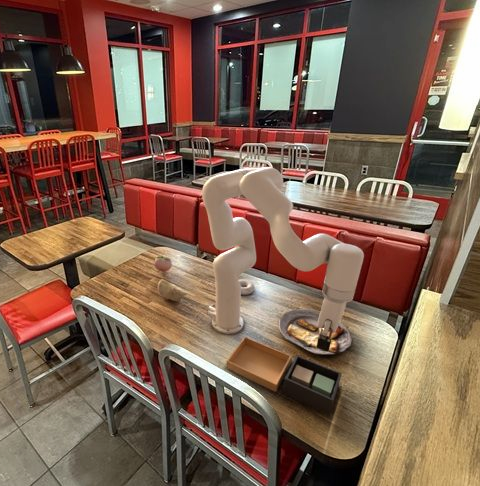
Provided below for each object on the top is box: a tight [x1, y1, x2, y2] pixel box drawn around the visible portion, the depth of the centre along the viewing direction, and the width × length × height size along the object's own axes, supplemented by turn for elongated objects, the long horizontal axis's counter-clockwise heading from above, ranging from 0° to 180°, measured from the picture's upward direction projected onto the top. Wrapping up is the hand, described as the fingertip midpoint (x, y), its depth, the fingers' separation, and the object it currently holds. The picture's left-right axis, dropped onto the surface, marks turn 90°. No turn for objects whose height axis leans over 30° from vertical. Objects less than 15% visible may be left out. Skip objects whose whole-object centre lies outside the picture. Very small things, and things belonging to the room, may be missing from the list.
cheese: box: [157, 278, 188, 302], centre depth 141 cm, size 15×7×15 cm
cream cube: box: [291, 365, 313, 388], centre depth 95 cm, size 5×5×5 cm
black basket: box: [282, 354, 343, 417], centre depth 93 cm, size 13×11×6 cm
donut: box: [238, 279, 255, 296], centre depth 144 cm, size 10×3×10 cm
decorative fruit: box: [153, 254, 173, 273], centre depth 162 cm, size 9×8×10 cm
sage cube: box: [312, 374, 335, 398], centre depth 92 cm, size 5×5×5 cm
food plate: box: [278, 308, 353, 356], centre depth 116 cm, size 25×23×4 cm
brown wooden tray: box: [225, 336, 293, 393], centre depth 104 cm, size 17×14×3 cm
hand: (327, 338), depth 89 cm, fingers open, 9 cm apart
